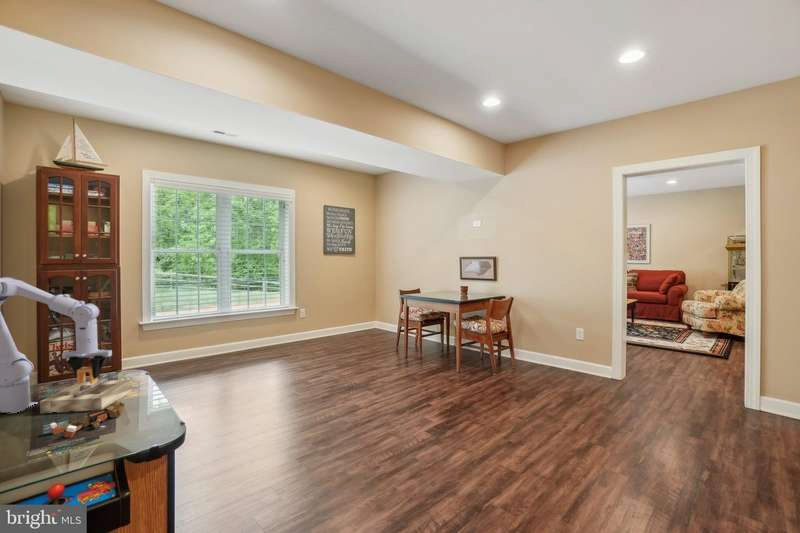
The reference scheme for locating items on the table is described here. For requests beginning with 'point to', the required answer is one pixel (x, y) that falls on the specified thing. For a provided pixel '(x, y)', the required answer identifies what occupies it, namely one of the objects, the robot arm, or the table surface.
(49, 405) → the rectangular frame
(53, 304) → the robot arm
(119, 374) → the table surface
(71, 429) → the character figurine
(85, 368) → the bracket
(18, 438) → the table surface
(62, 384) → the table surface
